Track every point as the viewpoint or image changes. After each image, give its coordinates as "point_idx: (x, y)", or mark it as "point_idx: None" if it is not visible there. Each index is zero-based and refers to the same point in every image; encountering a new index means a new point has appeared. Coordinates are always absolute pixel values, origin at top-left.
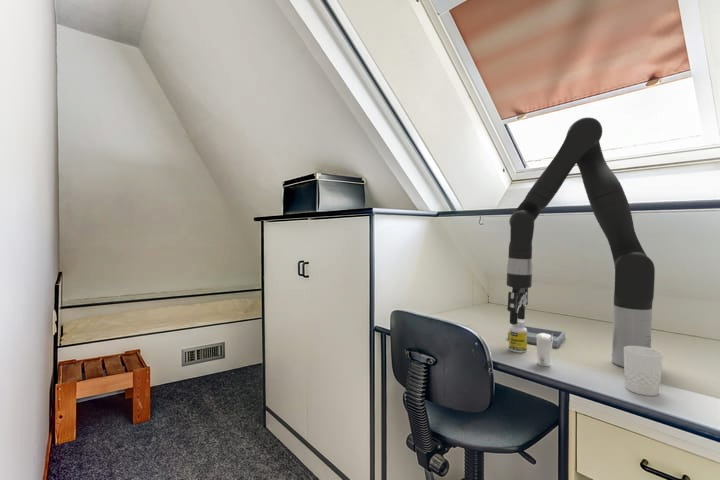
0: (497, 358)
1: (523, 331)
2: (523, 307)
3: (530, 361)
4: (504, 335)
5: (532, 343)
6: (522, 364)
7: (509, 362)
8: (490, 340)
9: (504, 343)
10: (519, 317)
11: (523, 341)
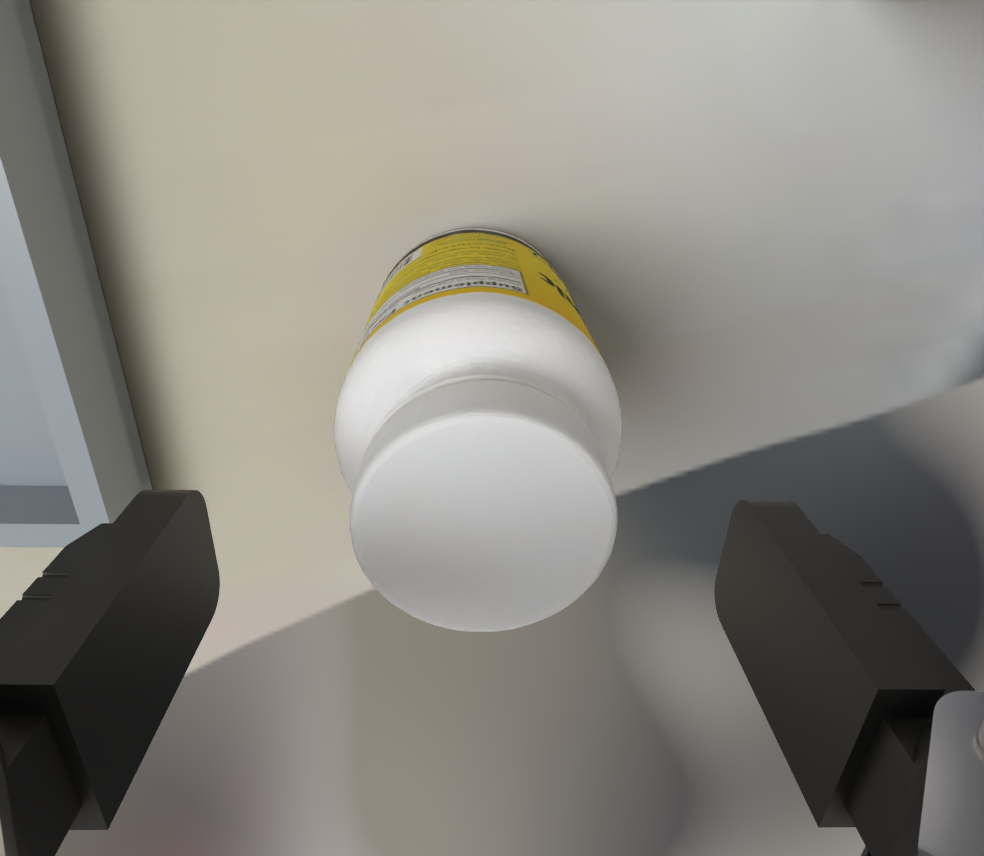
0: (858, 416)
1: (576, 339)
2: (22, 747)
3: (824, 95)
4: (21, 562)
5: (81, 233)
6: (969, 155)
7: (945, 291)
8: (315, 608)
9: (316, 490)
10: (203, 583)
11: (554, 284)
